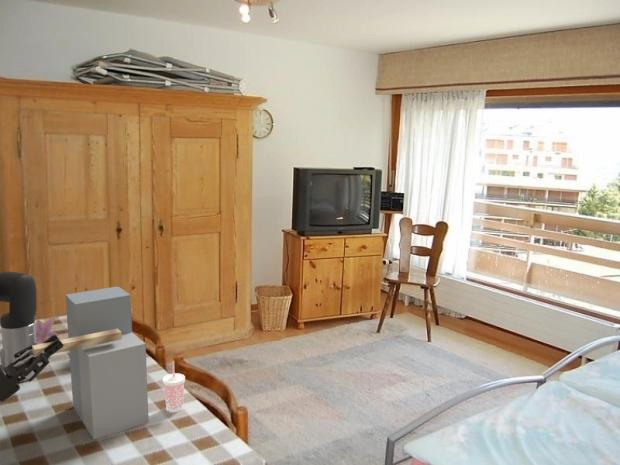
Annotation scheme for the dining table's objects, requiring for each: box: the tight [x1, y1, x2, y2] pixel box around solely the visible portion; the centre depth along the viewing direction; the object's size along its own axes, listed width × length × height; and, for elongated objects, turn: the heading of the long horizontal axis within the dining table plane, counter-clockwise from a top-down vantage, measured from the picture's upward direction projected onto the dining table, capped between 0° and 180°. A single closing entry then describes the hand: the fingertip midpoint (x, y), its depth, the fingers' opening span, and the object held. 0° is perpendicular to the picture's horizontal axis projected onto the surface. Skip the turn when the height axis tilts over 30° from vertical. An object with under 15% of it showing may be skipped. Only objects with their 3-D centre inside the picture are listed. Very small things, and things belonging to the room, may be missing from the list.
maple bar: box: [32, 329, 122, 355], centre depth 130 cm, size 20×3×2 cm, turn 127°
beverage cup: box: [162, 360, 186, 413], centre depth 147 cm, size 6×6×14 cm
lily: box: [35, 317, 60, 344], centre depth 188 cm, size 12×12×10 cm
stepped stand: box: [65, 286, 150, 440], centre depth 141 cm, size 14×20×32 cm
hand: (59, 340), depth 127 cm, fingers closed on maple bar, 3 cm apart
